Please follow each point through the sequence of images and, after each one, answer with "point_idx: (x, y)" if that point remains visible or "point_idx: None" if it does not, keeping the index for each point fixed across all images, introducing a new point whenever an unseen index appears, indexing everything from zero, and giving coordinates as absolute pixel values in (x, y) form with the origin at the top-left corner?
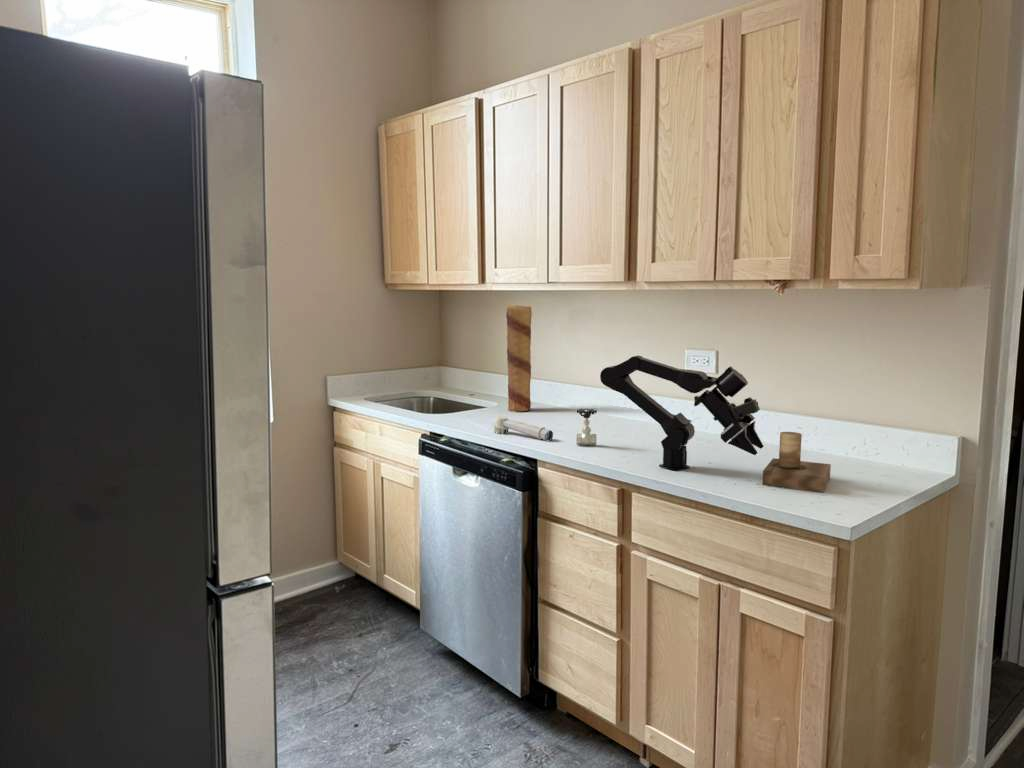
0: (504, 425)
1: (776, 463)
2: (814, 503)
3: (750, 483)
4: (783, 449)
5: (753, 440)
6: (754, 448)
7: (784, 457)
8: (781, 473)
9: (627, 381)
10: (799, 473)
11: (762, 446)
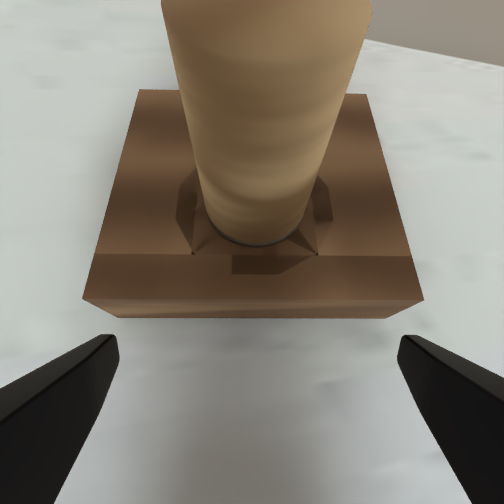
0: None
1: (217, 262)
2: (479, 150)
3: (387, 375)
4: (321, 155)
5: (49, 456)
6: (454, 356)
7: (313, 184)
8: (399, 219)
9: None
10: (364, 159)
11: (113, 342)
